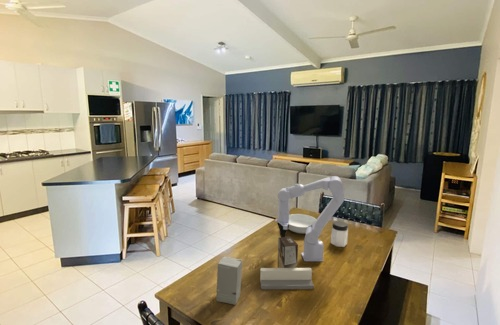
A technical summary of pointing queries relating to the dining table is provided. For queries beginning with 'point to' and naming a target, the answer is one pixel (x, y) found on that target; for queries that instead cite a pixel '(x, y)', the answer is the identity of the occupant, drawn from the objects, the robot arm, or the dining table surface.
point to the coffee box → (287, 252)
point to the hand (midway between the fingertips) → (282, 236)
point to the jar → (339, 233)
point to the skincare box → (229, 280)
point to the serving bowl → (300, 222)
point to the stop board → (286, 278)
